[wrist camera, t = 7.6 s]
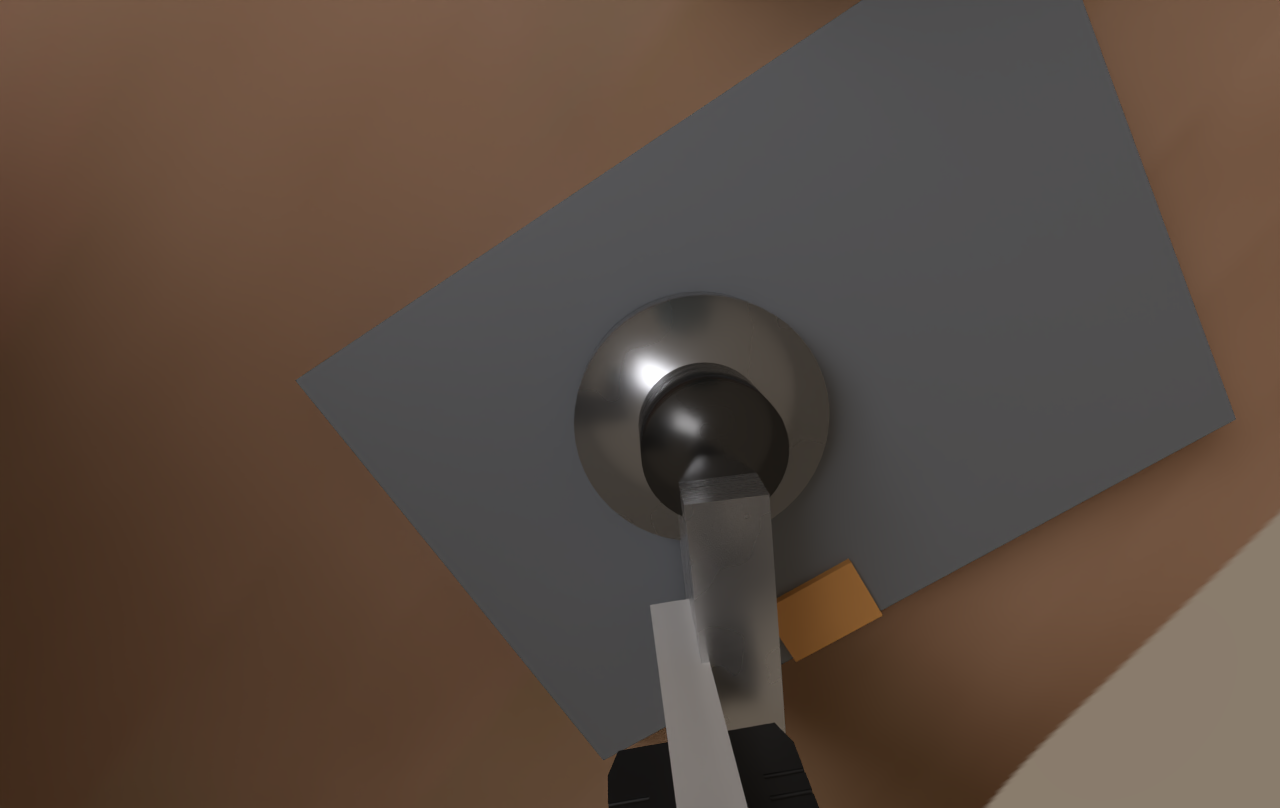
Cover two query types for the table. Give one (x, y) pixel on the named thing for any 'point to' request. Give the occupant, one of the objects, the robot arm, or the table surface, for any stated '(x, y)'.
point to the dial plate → (808, 337)
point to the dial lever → (709, 465)
